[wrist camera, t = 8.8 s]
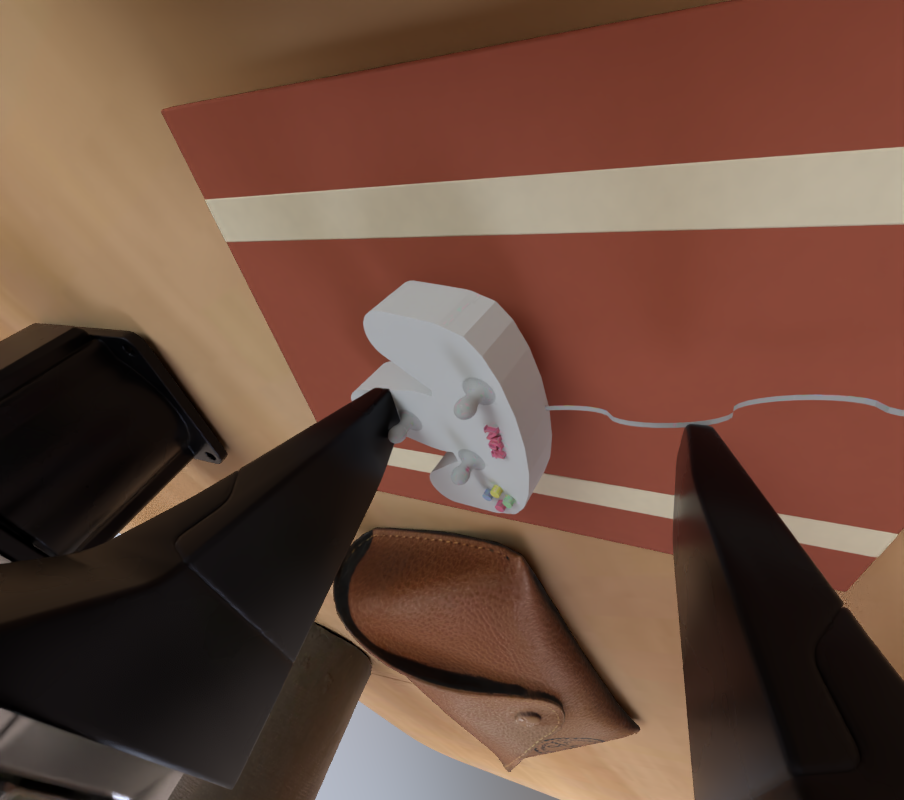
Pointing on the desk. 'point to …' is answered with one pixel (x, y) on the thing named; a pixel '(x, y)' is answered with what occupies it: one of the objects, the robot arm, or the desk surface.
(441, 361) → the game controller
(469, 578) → the sunglasses case
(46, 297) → the desk surface
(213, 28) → the desk surface
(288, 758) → the pillar candle
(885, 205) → the cloth
